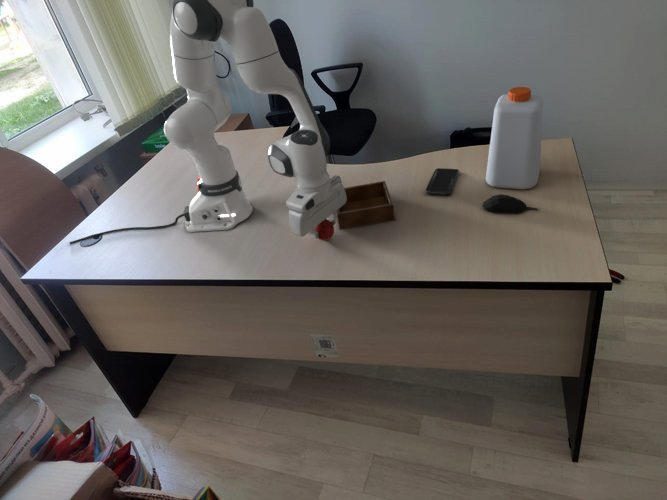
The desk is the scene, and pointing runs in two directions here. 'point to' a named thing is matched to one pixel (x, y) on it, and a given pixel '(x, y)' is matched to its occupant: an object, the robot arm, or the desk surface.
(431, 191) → the phone
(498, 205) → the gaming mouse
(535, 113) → the plastic bottle
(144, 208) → the desk surface
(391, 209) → the wooden box
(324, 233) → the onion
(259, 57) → the robot arm
